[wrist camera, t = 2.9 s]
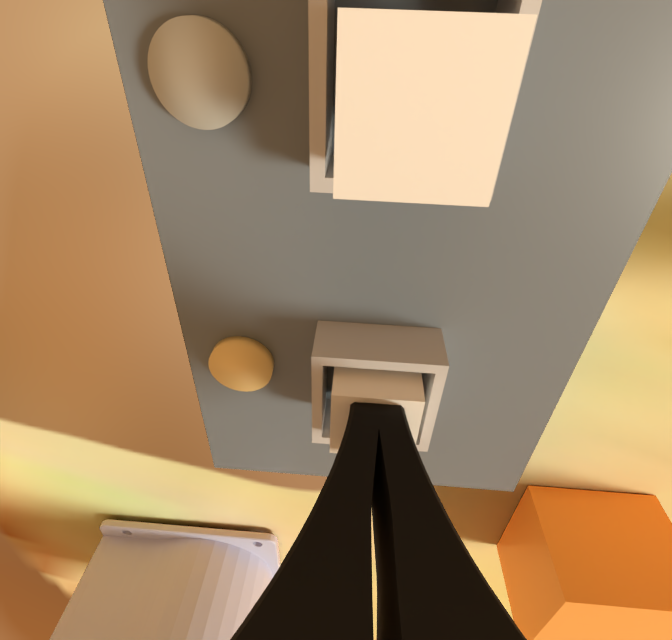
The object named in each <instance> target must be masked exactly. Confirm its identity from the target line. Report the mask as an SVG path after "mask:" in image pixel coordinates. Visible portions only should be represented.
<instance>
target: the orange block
mask: <svg viewBox="0 0 672 640" xmlns="http://www.w3.org/2000/svg"><path fill="white" fill-rule="evenodd" d="M497 549H498V554H499V558H500V563H501V567H502V571H503V576H504V580H505V584H506V589H507V593H508V598H509V602H510V606H511V611H512V615H513V620H514V622H515V624H516V625H517V627H518V628H519V630H520V631H521V632H522V634H523V635H524V636H525V638H526V639H527V640H672V523H671V521H670V520H669V518H668V516H667V514H666V513H665V511H664V509H663V508H662V506H661V504H660V502H659V501H658V499H657V497H656V496H653V495H641V494H628V493H616V492H603V491H591V490H579V489H566V488H554V487H541V486H529V485H528V487H527V489H526V491H525V492H524V494H523V496H522V498H521V500H520V502H519V504H518V506H517V508H516V510H515V512H514V513H513V515H512V517H511V519H510V521H509V523H508V525H507V527H506V529H505V531H504V533H503V534H502V536H501V538H500V540H499V542H498V544H497Z"/></svg>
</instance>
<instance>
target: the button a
mask: <svg viewBox="0 0 672 640" xmlns="http://www.w3.org/2000/svg"><path fill="white" fill-rule="evenodd" d="M354 402H364V403H377V404H391V405H401V406H402V407H403V408H404V409H405V414H406V417H407V421H408V424H409V427H410V430H411V433H412V436H413V439H414V442H415V444H416V441H417V437H418V433H419V428H420V424H421V419H422V415H423V410H424V406H425V396H424V388H423V380H422V373H419V372H404V371H390V370H376V369H362V368H348V367H334V375H333V384H332V393H331V419H330V452H329V453H337V452H338V450H339V447H340V445H341V441H342V438H343V435H344V432H345V429H346V425H347V421H348V417H349V411H350V404H352V403H354Z"/></svg>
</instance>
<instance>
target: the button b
mask: <svg viewBox="0 0 672 640" xmlns="http://www.w3.org/2000/svg"><path fill="white" fill-rule="evenodd" d="M536 18H537V15H536V14H511V13H484V12H455V11H427V10H398V9H370V8H338V16H337V57H336V97H335V138H334V178H333V199H346V200H365V201H383V202H402V203H421V204H439V205H458V206H476V207H489V204H490V200H491V196H492V192H493V188H494V184H495V180H496V176H497V172H498V168H499V164H500V160H501V156H502V153H503V149H504V145H505V141H506V137H507V133H508V129H509V125H510V121H511V117H512V113H513V109H514V105H515V101H516V97H517V93H518V89H519V85H520V81H521V77H522V73H523V69H524V65H525V62H526V58H527V54H528V50H529V46H530V42H531V38H532V34H533V30H534V26H535V22H536Z"/></svg>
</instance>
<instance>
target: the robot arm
mask: <svg viewBox="0 0 672 640" xmlns="http://www.w3.org/2000/svg"><path fill="white" fill-rule="evenodd" d="M371 507H372V516H373V530H374V544H375V559H376V573H377V640H527V639H526V638H525V636H524V635H523V634H522V632H521V631H520V630H519V628H518V627H517V625H516V624H515V622H514V621H513V619H512V618H511V617H510V615H509V614H508V612H507V611H506V609H505V608H504V606H503V605H502V603H501V602H500V600H499V599H498V598H497V596H496V595H495V593H494V592H493V590H492V589H491V587H490V586H489V584H488V583H487V581H486V580H485V578H484V576H483V575H482V573H481V572H480V570H479V568H478V567H477V565H476V564H475V562H474V560H473V559H472V557H471V556H470V554H469V552H468V550H467V549H466V547H465V545H464V544H463V542H462V540H461V539H460V537H459V535H458V533H457V531H456V530H455V528H454V526H453V524H452V522H451V520H450V519H449V517H448V515H447V513H446V511H445V509H444V507H443V505H442V503H441V501H440V499H439V497H438V495H437V493H436V491H435V489H434V487H433V484H432V482H431V480H430V478H429V475H428V473H427V471H426V469H425V466H424V464H423V462H422V459H421V457H420V455H419V452H418V450H417V447H416V444H415V442H414V439H413V436H412V433H411V430H410V427H409V424H408V421H407V417H406V414H405V409H404V408H403V407H402V406H401V405H391V404H377V403H364V402H354V403H352V404H350V411H349V417H348V421H347V425H346V429H345V432H344V435H343V438H342V441H341V445H340V447H339V450H338V452H337V455H336V458H335V460H334V463H333V465H332V468H331V470H330V473H329V475H328V477H327V480H326V482H325V484H324V486H323V488H322V490H321V492H320V494H319V497H318V499H317V501H316V503H315V505H314V507H313V509H312V511H311V513H310V515H309V517H308V518H307V520H306V522H305V524H304V526H303V528H302V529H301V531H300V533H299V535H298V537H297V538H296V540H295V542H294V544H293V545H292V547H291V549H290V550H289V552H288V554H287V555H286V557H285V559H284V560H283V562H282V564H281V565H280V557H279V547H278V539H277V537H276V536H275V535H273V534H270V533H260V532H249V531H237V530H226V529H215V528H203V527H192V526H180V525H169V524H157V523H146V522H134V521H123V520H111V519H107V520H104V521H103V522H102V523H101V525H100V527H99V528H100V531H101V533H102V534H103V537H102V539H101V541H100V542H99V544H98V546H97V548H96V550H95V552H94V554H93V556H92V558H91V560H90V562H89V564H88V566H87V568H86V570H85V572H84V574H83V576H82V578H81V579H80V581H79V583H78V585H77V587H76V589H75V591H74V593H73V595H72V597H71V599H70V601H69V603H68V605H67V607H66V609H65V611H64V613H63V615H62V616H61V619H60V620H59V622H58V625H57V626H56V628H55V630H54V632H53V634H52V636H51V638H50V640H373V607H372V557H371Z"/></svg>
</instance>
